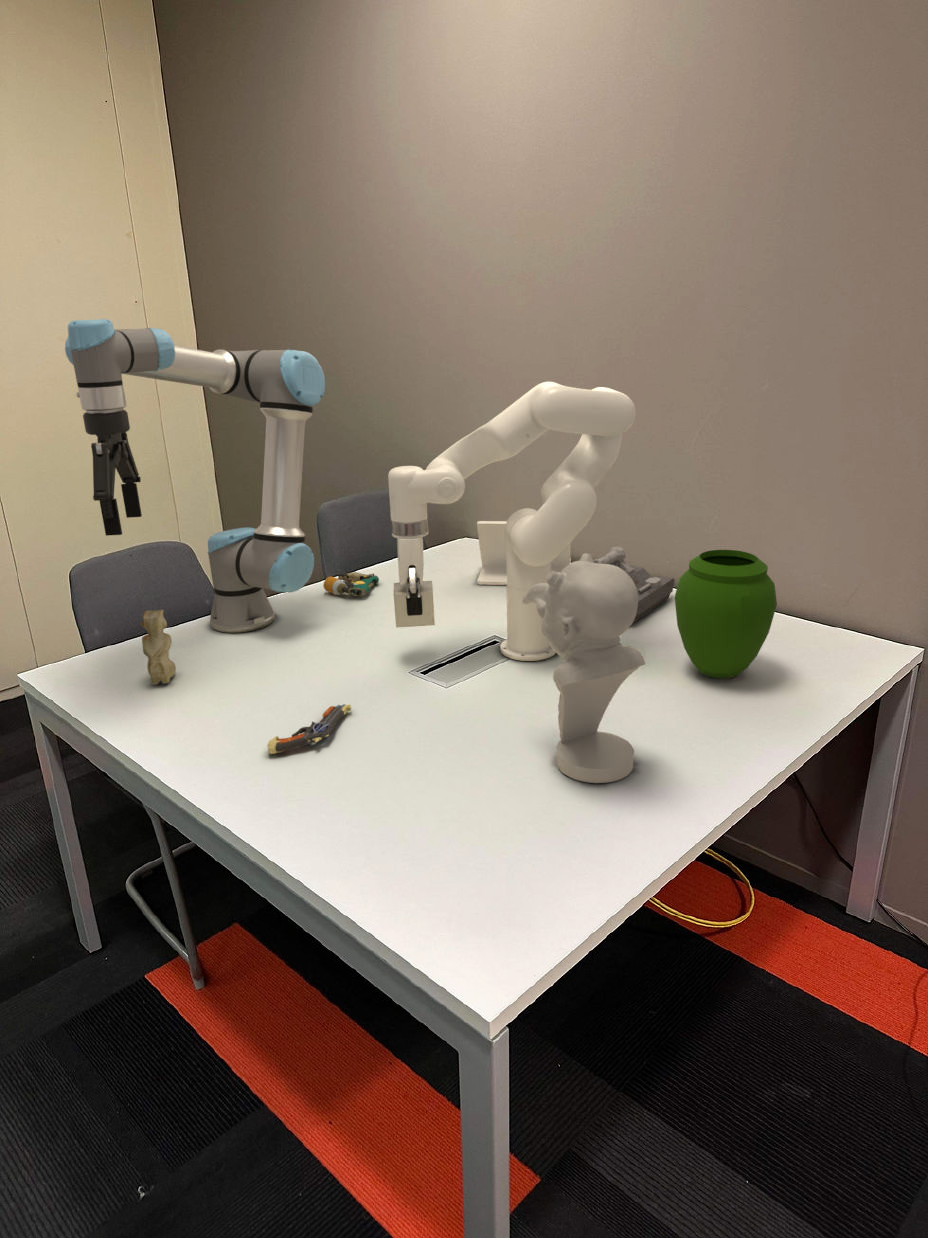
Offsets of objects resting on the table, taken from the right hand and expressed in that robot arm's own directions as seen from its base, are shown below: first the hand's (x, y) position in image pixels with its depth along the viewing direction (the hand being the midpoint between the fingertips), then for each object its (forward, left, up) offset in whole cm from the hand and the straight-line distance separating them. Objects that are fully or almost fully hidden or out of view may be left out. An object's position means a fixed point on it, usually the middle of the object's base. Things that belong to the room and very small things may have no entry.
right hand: (414, 608), depth 182 cm
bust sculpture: (-19, +49, -12) cm, 54 cm away
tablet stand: (-39, -50, -12) cm, 64 cm away
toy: (-54, -20, -12) cm, 59 cm away
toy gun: (+24, +28, -12) cm, 39 cm away
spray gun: (+8, -52, -12) cm, 54 cm away
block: (0, 0, -3) cm, 3 cm away
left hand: (+55, +2, +23) cm, 59 cm away
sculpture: (+53, -4, -12) cm, 55 cm away
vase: (-59, +24, -12) cm, 65 cm away
